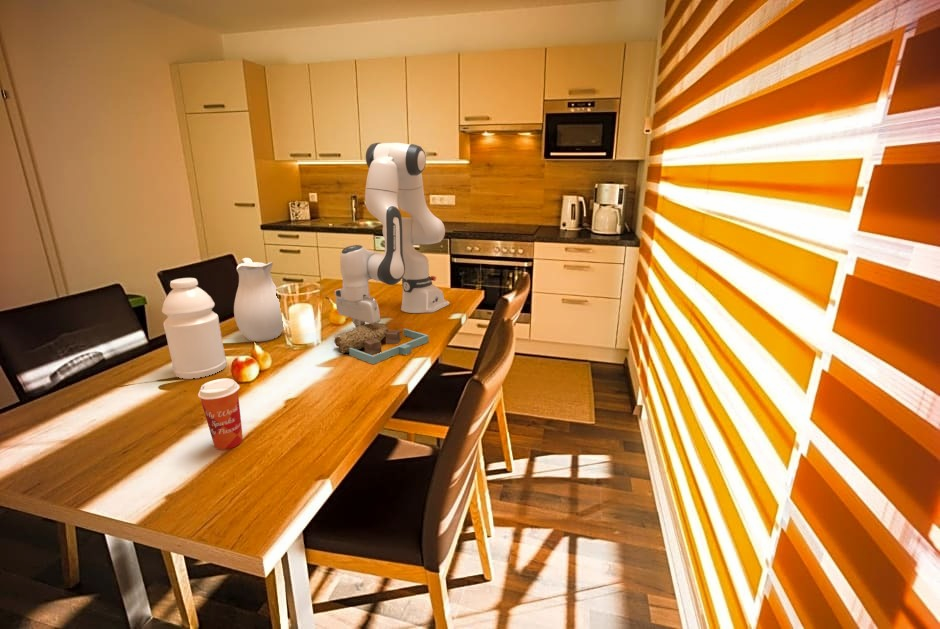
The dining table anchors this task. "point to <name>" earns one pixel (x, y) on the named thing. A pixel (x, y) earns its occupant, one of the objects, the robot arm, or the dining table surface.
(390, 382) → the dining table surface
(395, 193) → the robot arm
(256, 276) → the pitcher
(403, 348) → the grey piece
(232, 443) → the paper cup
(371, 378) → the dining table surface
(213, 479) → the dining table surface
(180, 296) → the bottle
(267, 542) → the dining table surface
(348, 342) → the rough brown rock
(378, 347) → the chip
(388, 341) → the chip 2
